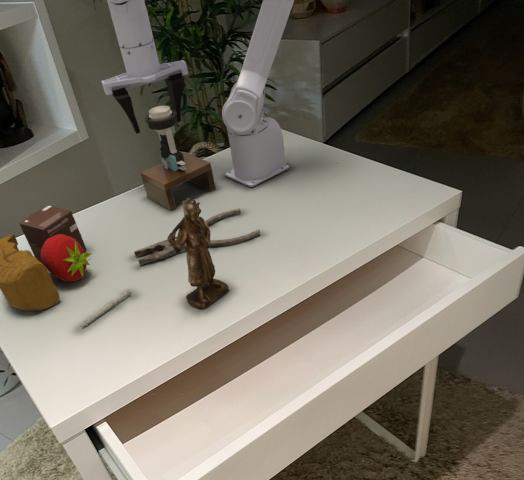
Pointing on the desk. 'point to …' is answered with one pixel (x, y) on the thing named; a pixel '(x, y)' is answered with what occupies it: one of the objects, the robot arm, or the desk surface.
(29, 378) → the desk surface
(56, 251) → the strawberry
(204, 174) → the brown wooden bridge block
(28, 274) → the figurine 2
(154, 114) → the push button
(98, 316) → the wall anchor
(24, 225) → the box
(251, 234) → the pliers
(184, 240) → the figurine
